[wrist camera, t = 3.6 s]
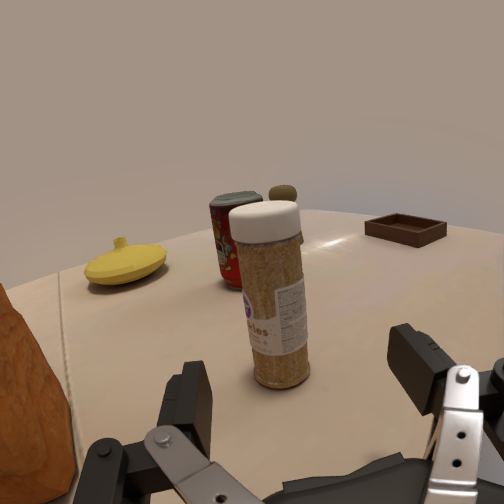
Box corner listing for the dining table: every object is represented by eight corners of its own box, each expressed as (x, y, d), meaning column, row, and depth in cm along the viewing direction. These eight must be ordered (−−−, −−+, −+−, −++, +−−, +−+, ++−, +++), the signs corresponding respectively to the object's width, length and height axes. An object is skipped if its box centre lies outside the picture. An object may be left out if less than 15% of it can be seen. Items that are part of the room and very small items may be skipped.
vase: (145, 294, 44) (133, 248, 42) (72, 294, 47) (60, 256, 45) (183, 259, 58) (176, 223, 56) (117, 264, 61) (109, 232, 59)
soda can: (213, 283, 45) (199, 198, 41) (253, 268, 48) (242, 189, 45) (240, 297, 39) (225, 199, 35) (283, 279, 42) (273, 190, 39)
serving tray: (446, 235, 50) (446, 222, 49) (418, 248, 46) (418, 232, 45) (396, 224, 62) (396, 213, 61) (364, 234, 58) (364, 221, 57)
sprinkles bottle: (244, 371, 24) (215, 209, 21) (288, 349, 27) (271, 197, 23) (276, 400, 21) (251, 214, 17) (323, 372, 23) (313, 200, 19)
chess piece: (278, 238, 63) (271, 184, 60) (307, 238, 61) (301, 182, 57) (267, 247, 58) (260, 189, 55) (298, 247, 55) (292, 186, 52)
